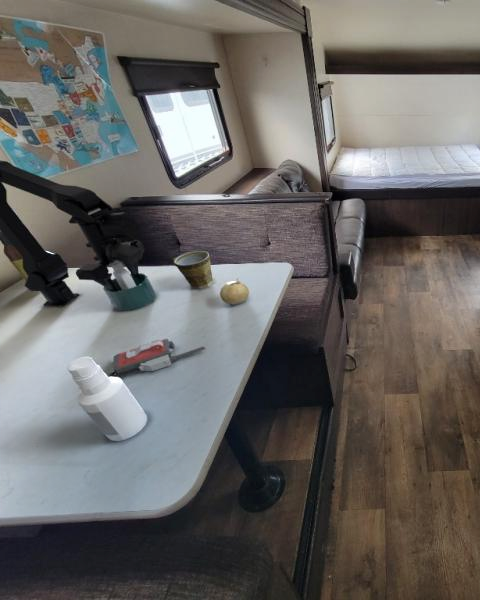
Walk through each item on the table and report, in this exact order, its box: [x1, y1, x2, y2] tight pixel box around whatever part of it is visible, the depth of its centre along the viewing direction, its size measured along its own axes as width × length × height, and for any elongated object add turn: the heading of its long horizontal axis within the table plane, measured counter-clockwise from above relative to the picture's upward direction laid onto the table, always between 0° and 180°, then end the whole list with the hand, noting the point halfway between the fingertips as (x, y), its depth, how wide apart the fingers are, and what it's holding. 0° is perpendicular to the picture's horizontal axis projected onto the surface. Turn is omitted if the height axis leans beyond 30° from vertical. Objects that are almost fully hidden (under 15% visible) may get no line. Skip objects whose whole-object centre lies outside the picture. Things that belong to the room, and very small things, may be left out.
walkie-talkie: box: [108, 338, 206, 378], centre depth 83 cm, size 9×4×20 cm
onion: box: [219, 277, 250, 306], centre depth 103 cm, size 8×8×7 cm
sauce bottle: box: [0, 231, 28, 282], centre depth 109 cm, size 7×6×20 cm
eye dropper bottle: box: [110, 261, 136, 290], centre depth 101 cm, size 4×6×12 cm
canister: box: [102, 272, 157, 312], centre depth 104 cm, size 11×11×7 cm
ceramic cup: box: [171, 250, 214, 290], centre depth 111 cm, size 13×10×10 cm
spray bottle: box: [66, 356, 148, 442], centre depth 63 cm, size 7×7×18 cm
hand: (126, 284), depth 102 cm, fingers closed on eye dropper bottle, 8 cm apart
